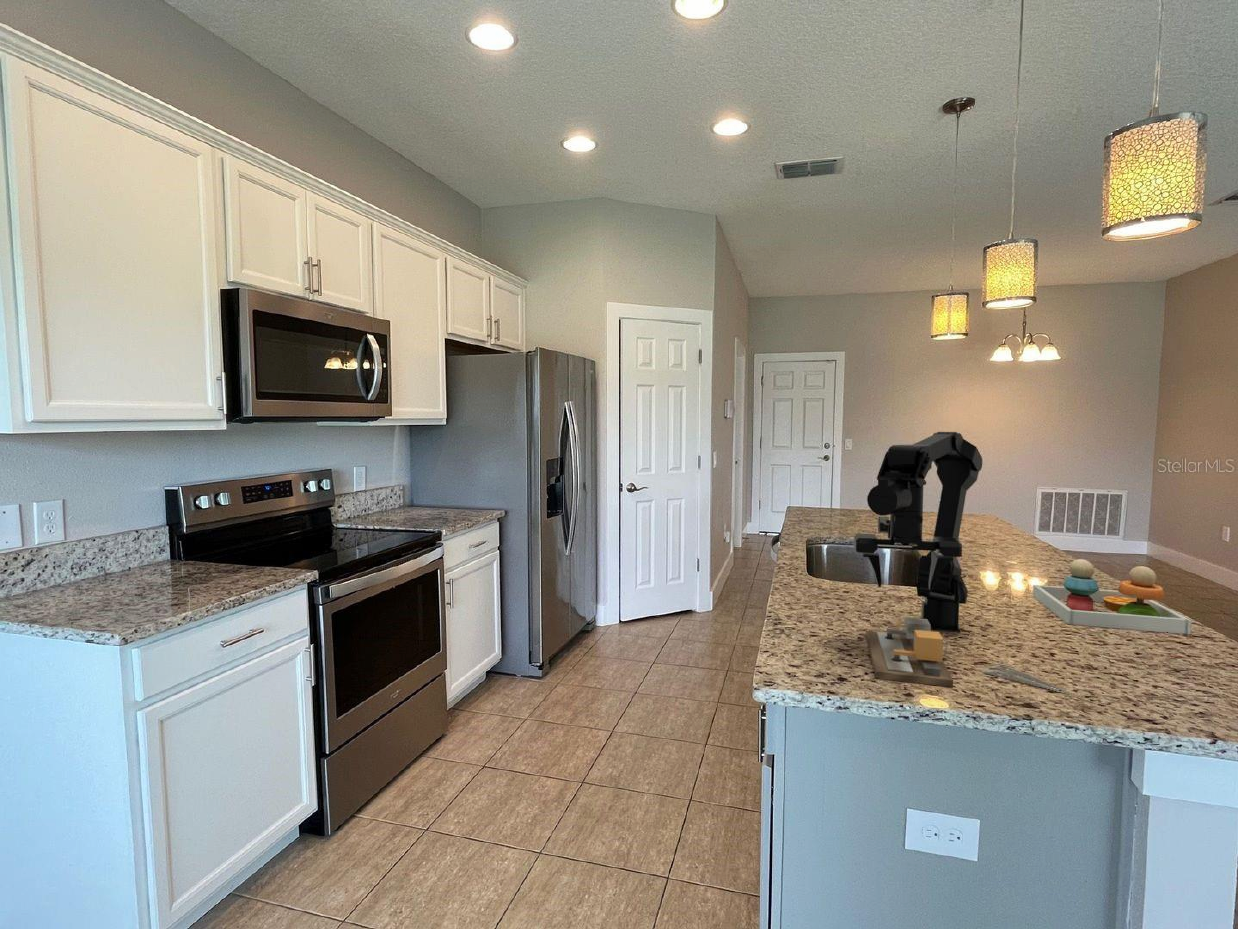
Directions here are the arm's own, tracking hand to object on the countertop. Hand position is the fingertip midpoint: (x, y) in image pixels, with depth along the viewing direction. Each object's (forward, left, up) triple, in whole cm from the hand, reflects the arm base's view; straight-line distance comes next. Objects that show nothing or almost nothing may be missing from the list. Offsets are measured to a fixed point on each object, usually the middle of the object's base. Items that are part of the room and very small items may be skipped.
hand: (904, 588), depth 122 cm
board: (+1, +8, -12) cm, 14 cm away
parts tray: (-47, -37, -12) cm, 62 cm away
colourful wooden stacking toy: (-49, -39, -12) cm, 64 cm away
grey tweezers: (-20, +13, -13) cm, 27 cm away
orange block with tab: (-1, +13, -10) cm, 16 cm away
